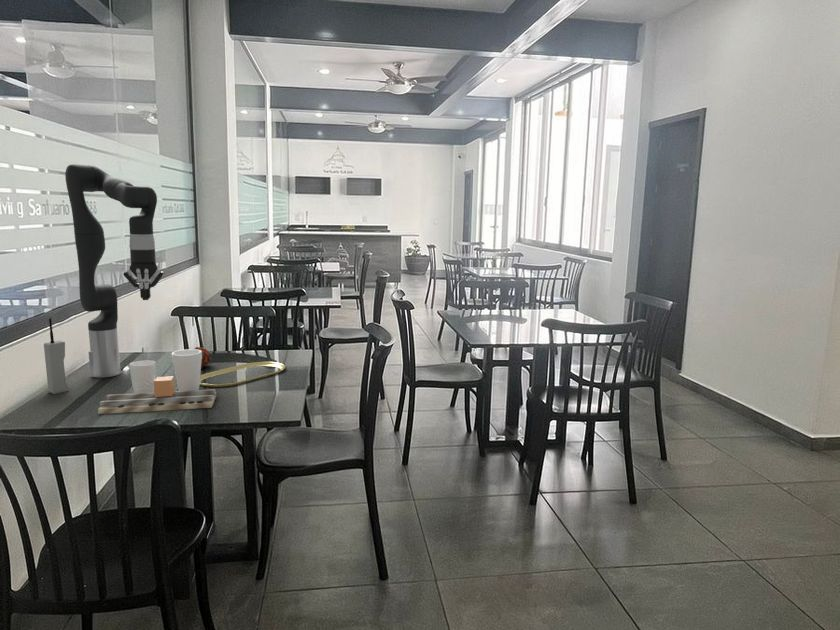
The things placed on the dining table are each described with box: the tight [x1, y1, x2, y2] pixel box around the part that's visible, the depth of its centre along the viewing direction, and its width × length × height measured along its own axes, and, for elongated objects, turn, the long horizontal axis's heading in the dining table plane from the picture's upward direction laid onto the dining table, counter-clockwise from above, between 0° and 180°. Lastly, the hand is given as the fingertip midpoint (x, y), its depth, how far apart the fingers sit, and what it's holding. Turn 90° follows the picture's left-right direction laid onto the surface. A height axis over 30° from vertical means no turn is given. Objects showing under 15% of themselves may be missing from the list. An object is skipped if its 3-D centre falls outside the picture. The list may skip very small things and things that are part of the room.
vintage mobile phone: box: [43, 317, 71, 395], centre depth 198 cm, size 4×5×25 cm
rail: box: [97, 388, 217, 415], centre depth 186 cm, size 32×12×3 cm, turn 101°
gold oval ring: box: [199, 361, 286, 388], centre depth 221 cm, size 19×35×2 cm, turn 145°
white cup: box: [128, 359, 157, 393], centre depth 199 cm, size 8×8×10 cm
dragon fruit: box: [194, 346, 212, 369], centre depth 232 cm, size 8×8×12 cm
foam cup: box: [171, 348, 202, 391], centre depth 201 cm, size 10×9×13 cm
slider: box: [154, 375, 176, 398], centre depth 186 cm, size 5×5×7 cm
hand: (145, 299), depth 201 cm, fingers closed
